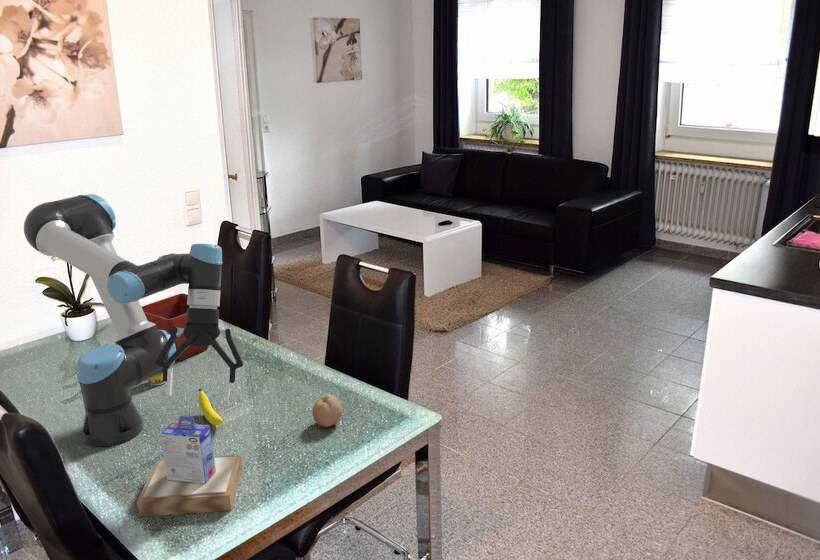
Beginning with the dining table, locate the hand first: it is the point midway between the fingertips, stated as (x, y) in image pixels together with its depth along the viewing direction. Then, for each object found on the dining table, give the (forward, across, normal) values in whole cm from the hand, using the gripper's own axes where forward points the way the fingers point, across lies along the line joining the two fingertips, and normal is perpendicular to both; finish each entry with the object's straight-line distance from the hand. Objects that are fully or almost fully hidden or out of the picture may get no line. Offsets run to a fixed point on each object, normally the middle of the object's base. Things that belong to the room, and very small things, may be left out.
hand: (198, 396), depth 167 cm
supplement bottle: (+1, -20, +53) cm, 56 cm away
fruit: (+9, +32, +18) cm, 38 cm away
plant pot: (-7, -16, +74) cm, 76 cm away
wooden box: (+21, +1, -4) cm, 22 cm away
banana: (+10, +1, +26) cm, 28 cm away
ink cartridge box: (+18, 0, -6) cm, 19 cm away
